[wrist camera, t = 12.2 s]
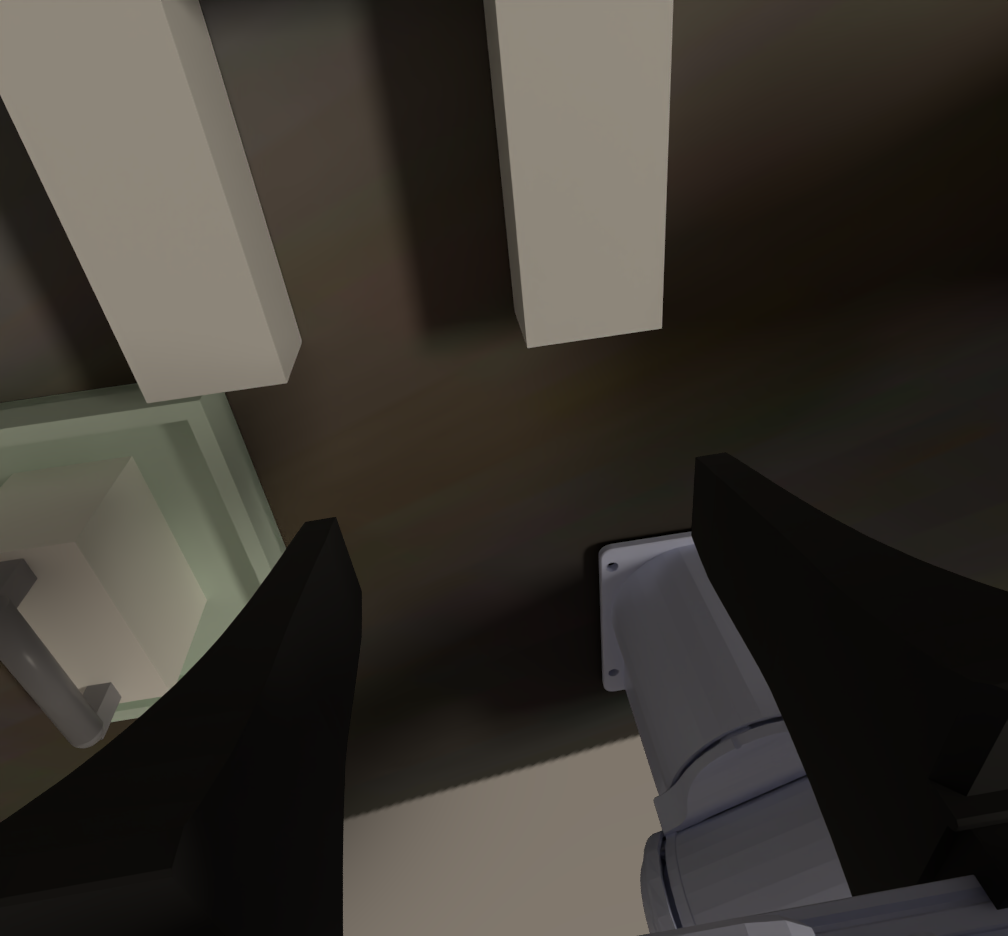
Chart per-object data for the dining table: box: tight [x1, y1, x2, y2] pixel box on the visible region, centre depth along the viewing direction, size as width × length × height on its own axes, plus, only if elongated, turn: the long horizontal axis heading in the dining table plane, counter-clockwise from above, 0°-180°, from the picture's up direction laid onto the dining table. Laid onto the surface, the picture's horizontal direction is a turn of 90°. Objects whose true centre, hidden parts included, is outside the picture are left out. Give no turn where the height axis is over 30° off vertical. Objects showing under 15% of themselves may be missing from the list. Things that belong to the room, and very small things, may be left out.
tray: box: [0, 383, 286, 722], centre depth 24 cm, size 14×11×2 cm
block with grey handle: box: [0, 456, 207, 748], centre depth 21 cm, size 7×4×6 cm, turn 6°
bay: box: [0, 0, 673, 403], centre depth 17 cm, size 12×15×3 cm
